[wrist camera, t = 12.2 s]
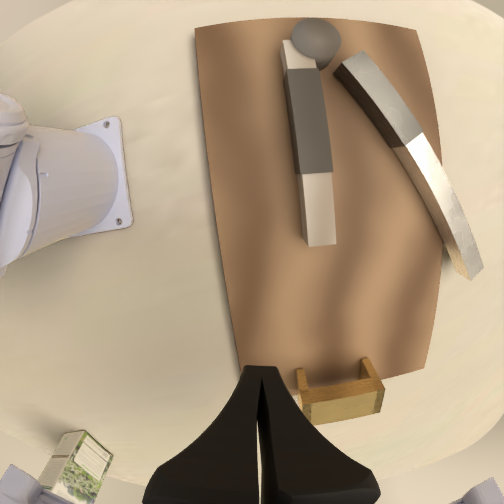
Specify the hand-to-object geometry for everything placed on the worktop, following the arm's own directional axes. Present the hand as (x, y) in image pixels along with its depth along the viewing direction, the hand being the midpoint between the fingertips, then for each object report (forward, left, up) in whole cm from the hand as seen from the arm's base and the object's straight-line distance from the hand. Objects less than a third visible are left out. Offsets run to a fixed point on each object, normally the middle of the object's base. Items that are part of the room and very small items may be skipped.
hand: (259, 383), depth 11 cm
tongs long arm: (+12, +8, -8) cm, 16 cm away
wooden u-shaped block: (+5, -7, -8) cm, 12 cm away
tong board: (+6, +5, -9) cm, 12 cm away
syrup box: (-25, -21, -10) cm, 34 cm away
